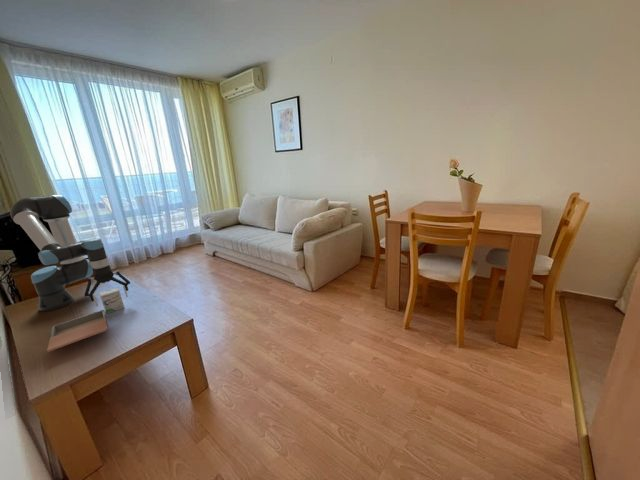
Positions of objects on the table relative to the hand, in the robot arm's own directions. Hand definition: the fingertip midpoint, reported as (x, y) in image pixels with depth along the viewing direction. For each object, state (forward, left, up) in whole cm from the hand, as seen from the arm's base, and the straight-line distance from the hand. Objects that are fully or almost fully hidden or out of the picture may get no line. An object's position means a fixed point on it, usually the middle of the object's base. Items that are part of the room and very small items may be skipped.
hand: (112, 300), depth 146 cm
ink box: (0, 0, -6) cm, 6 cm away
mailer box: (+12, -15, -6) cm, 20 cm away
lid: (+25, -15, 0) cm, 29 cm away
